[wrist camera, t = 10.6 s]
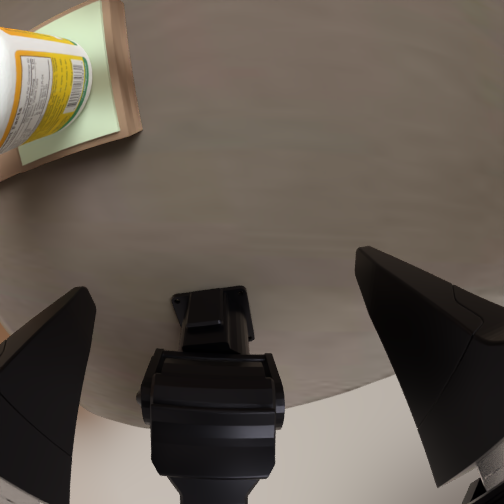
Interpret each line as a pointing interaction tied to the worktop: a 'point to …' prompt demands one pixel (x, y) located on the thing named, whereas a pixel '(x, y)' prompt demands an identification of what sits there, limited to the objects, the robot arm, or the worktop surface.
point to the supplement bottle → (39, 85)
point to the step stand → (102, 90)
